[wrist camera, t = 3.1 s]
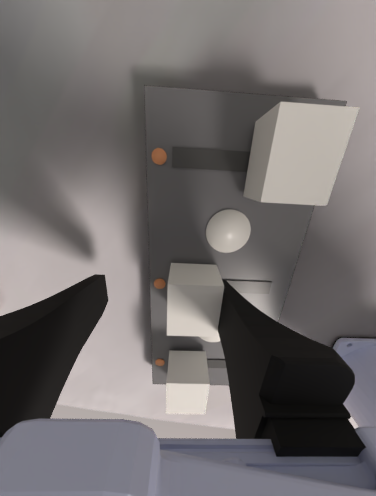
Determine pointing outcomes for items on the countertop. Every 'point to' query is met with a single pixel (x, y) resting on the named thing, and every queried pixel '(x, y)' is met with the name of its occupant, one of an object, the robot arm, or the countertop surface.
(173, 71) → the countertop surface
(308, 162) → the switch
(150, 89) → the switch panel
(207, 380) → the switch
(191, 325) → the switch
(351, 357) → the robot arm
